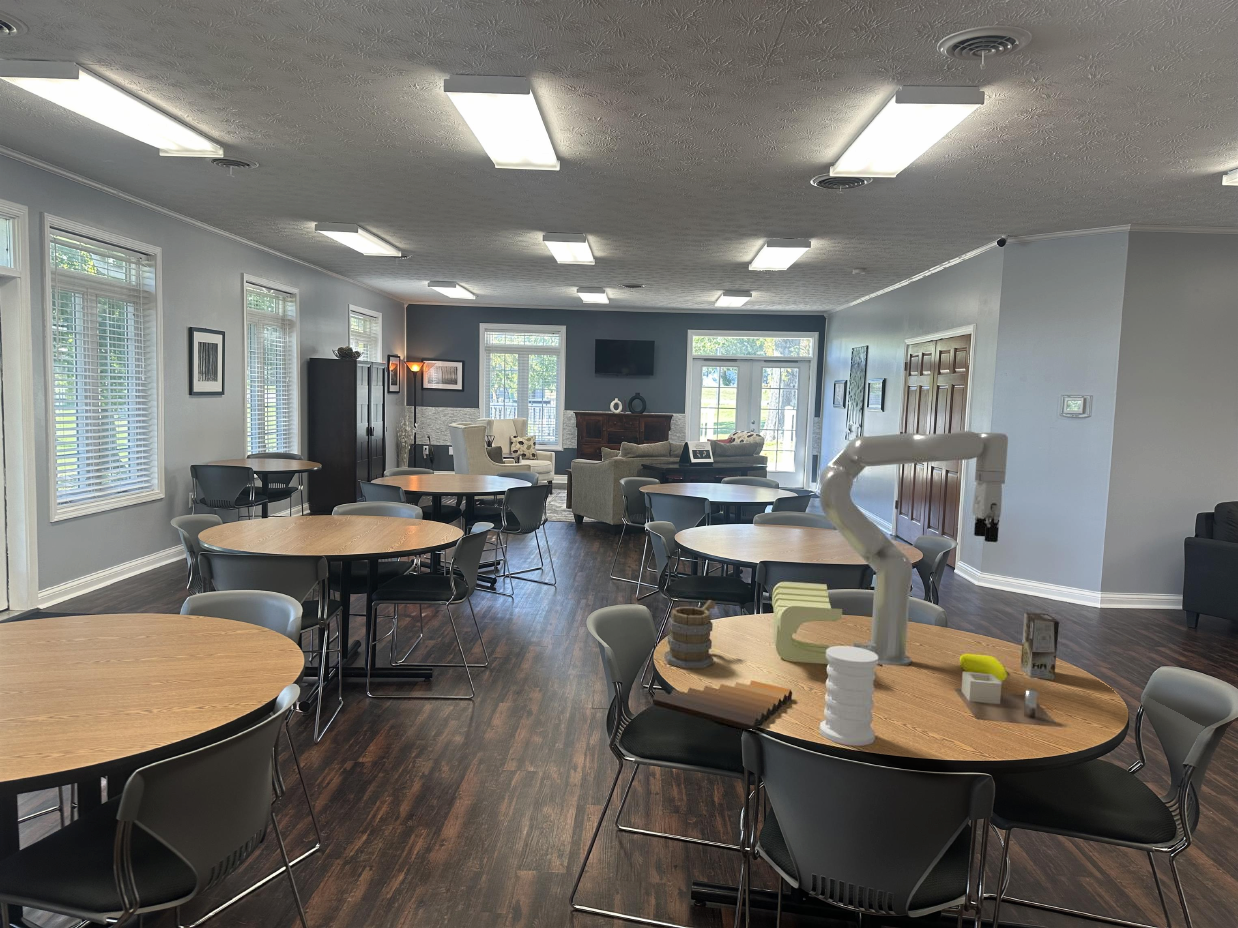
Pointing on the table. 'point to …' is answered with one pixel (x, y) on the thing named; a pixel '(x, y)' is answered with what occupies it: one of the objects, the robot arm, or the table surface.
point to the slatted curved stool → (800, 619)
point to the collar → (981, 687)
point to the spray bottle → (983, 665)
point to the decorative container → (849, 696)
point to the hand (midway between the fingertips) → (985, 538)
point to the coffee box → (1039, 645)
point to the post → (1030, 703)
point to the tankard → (690, 637)
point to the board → (1007, 710)
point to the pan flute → (728, 703)
